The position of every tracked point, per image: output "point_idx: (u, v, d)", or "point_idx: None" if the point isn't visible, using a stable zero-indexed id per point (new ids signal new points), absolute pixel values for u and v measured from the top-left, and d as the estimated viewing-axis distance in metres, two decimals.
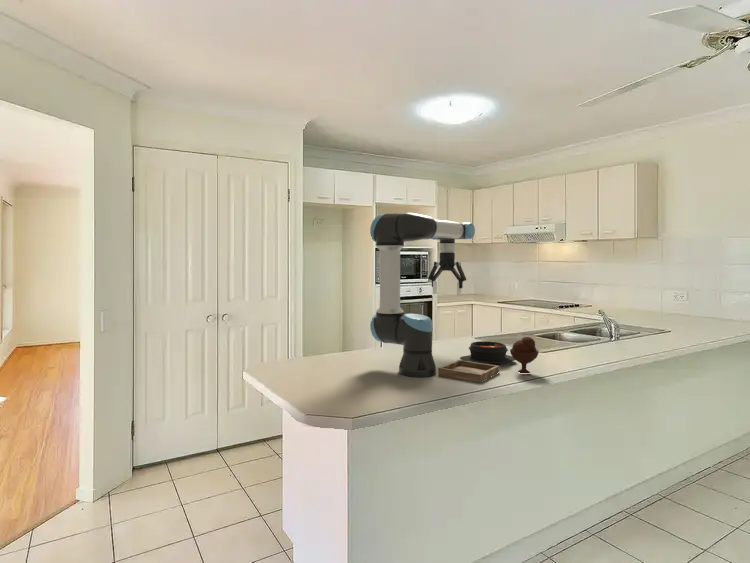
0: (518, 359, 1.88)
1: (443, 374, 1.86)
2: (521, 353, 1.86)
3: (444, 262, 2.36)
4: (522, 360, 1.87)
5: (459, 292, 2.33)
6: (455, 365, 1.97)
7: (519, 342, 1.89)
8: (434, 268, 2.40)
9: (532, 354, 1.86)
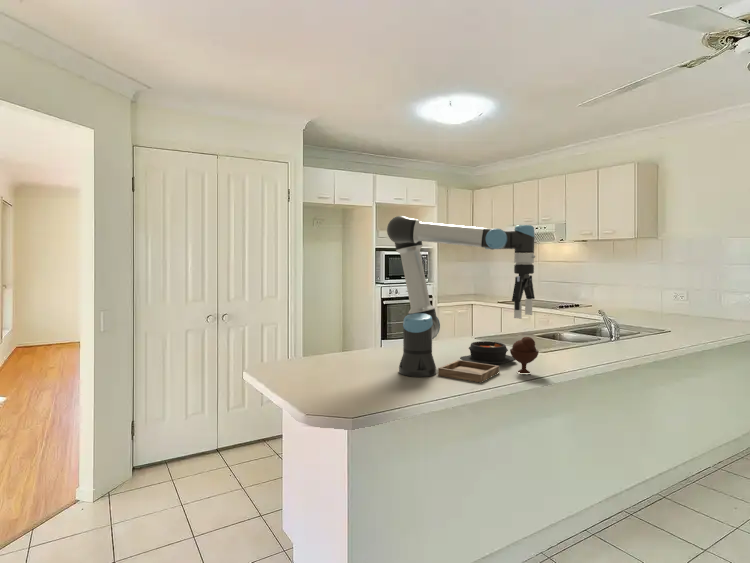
0: (518, 359, 1.88)
1: (443, 374, 1.86)
2: (521, 353, 1.86)
3: None
4: (522, 360, 1.87)
5: (516, 314, 1.85)
6: (455, 365, 1.97)
7: (519, 342, 1.89)
8: None
9: (532, 354, 1.86)
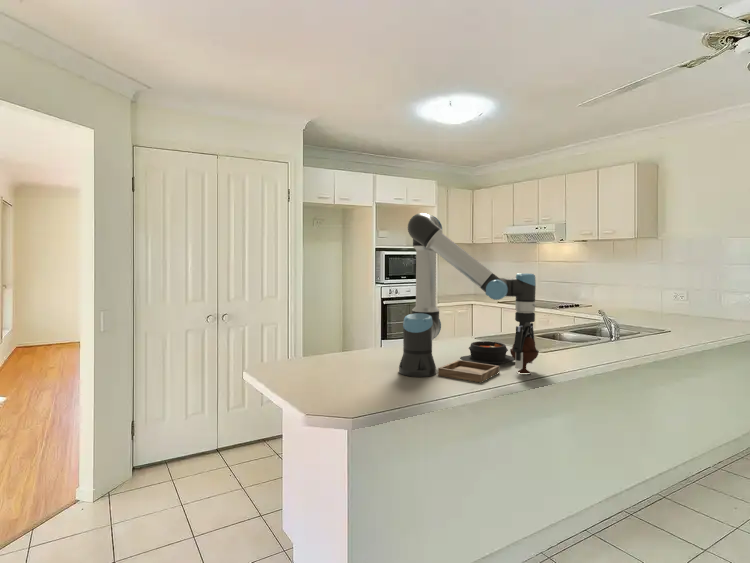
0: None
1: (443, 374, 1.86)
2: None
3: None
4: None
5: (518, 365, 1.86)
6: (455, 365, 1.97)
7: None
8: None
9: (532, 354, 1.86)
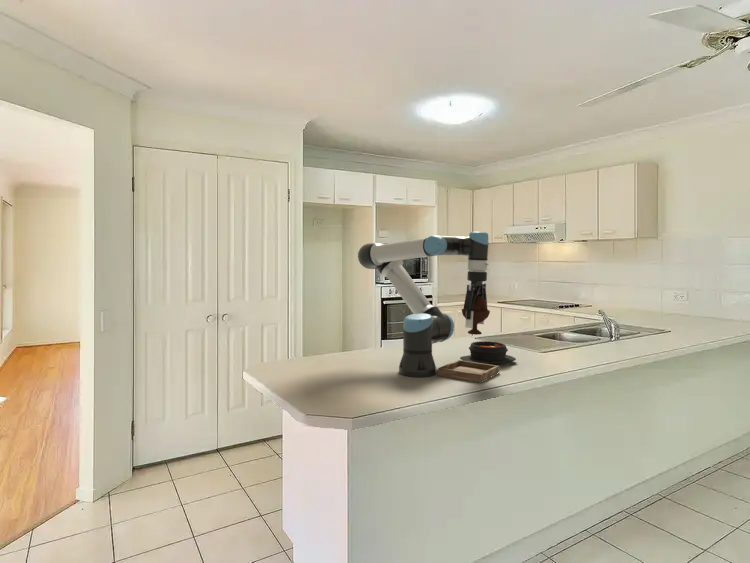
0: None
1: (443, 374, 1.86)
2: None
3: None
4: (473, 319, 1.85)
5: (468, 324, 1.84)
6: (455, 365, 1.97)
7: None
8: None
9: (483, 313, 1.84)
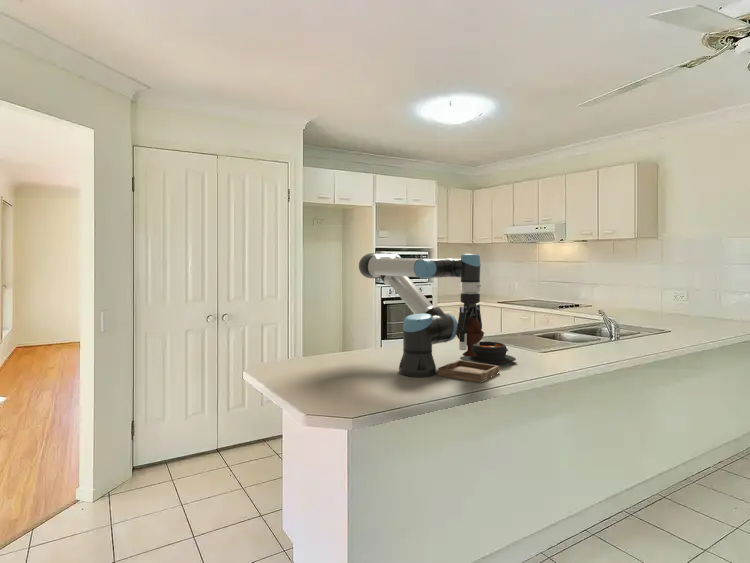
0: None
1: (443, 374, 1.86)
2: None
3: None
4: (467, 341, 1.85)
5: (462, 346, 1.84)
6: (455, 365, 1.97)
7: None
8: None
9: (476, 335, 1.83)
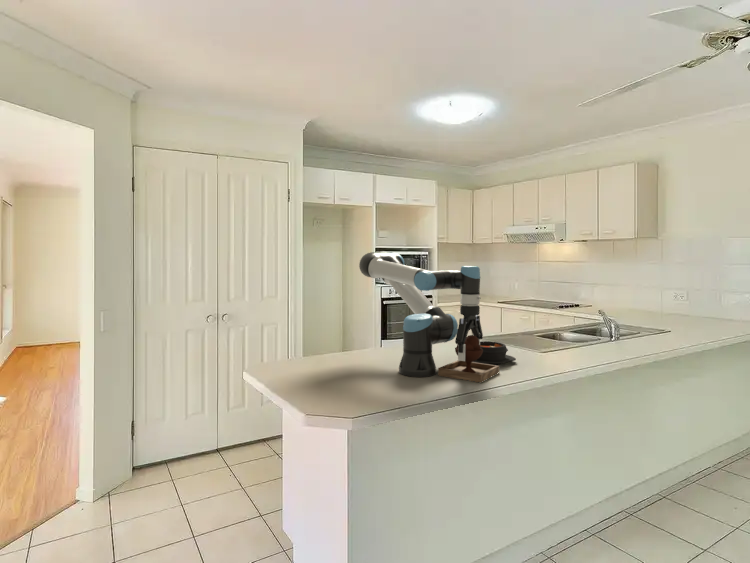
0: None
1: (443, 374, 1.86)
2: None
3: None
4: (466, 359, 1.85)
5: (460, 357, 1.83)
6: (455, 365, 1.97)
7: None
8: None
9: (475, 353, 1.84)
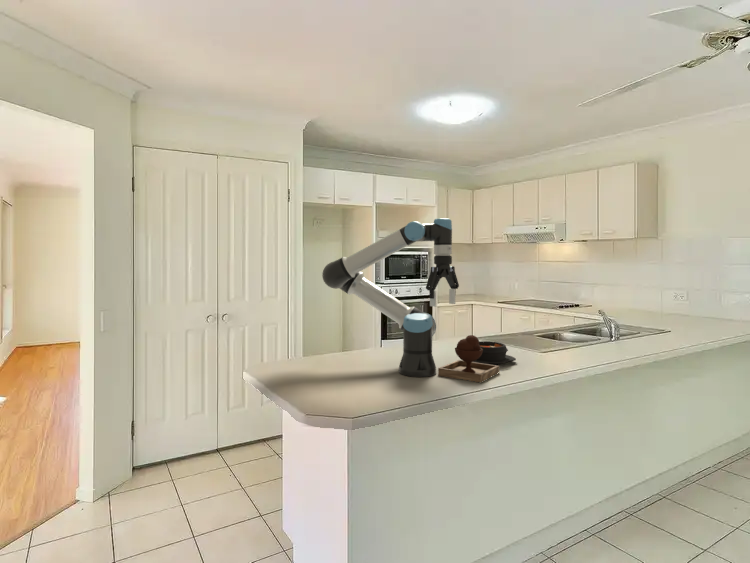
0: (462, 358, 1.86)
1: (443, 374, 1.86)
2: (464, 351, 1.84)
3: None
4: (466, 359, 1.85)
5: (432, 303, 1.97)
6: (455, 365, 1.97)
7: (463, 340, 1.86)
8: None
9: (475, 352, 1.84)
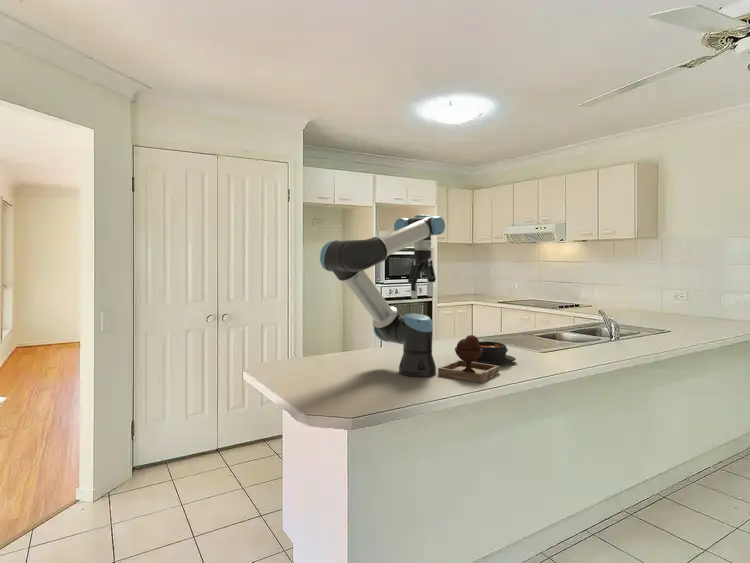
0: (462, 358, 1.86)
1: (443, 374, 1.86)
2: (464, 351, 1.84)
3: None
4: (466, 359, 1.85)
5: (413, 295, 2.07)
6: (455, 365, 1.97)
7: (463, 340, 1.86)
8: None
9: (475, 352, 1.84)
